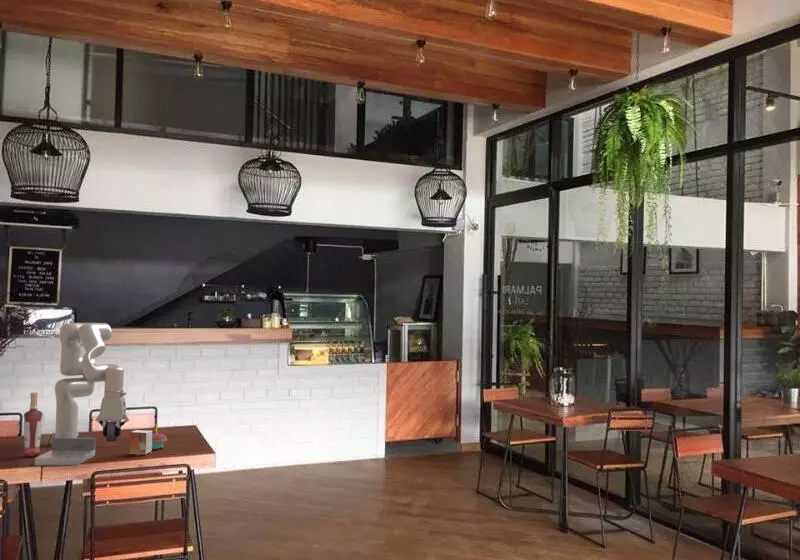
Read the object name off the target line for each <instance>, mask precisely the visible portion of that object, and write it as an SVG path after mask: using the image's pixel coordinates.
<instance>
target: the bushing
mask: <svg viewBox="0 0 800 560" xmlns="http://www.w3.org/2000/svg"><path fill="white" fill-rule="evenodd" d="M116 428H117V424H116V421H108V422H107V429H106V437H105V441H106V442H116V441H117V440H118V437H115V435H116Z"/></svg>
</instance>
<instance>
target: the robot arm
mask: <svg viewBox="0 0 800 560" xmlns="http://www.w3.org/2000/svg"><path fill="white" fill-rule="evenodd" d="M112 335H113V331H112V328H111V325H109V324H108V323H106V322H69V323H65V324H63V325H61V327H60V329H59V340H60V341H59V342H60V343H61V344H60V345H61V351H60V352H61V353H60V364H59V367H60V369H59V370H60V371H59V372H60V373H61V375H62V376H65V378H61V379H59V380H58V381H57V382H55V385H54V394H55V400H56V403H55V404H56V405H55V406H56V407H55V408H56V409H55V412H56V413H55V436H54V438H78V436H79V435H80V434H79V432H78V425H79V424H78V421H79V420H78V418H79V406H78V404H77V402H76V401H75V400H74V399H75V398H84V397H89V396H92V394H93V393H94V391H95V383H100V382H101V383H102V382H104V389H103V391H104V393H103V394H104V395H103V396H104V397H102V399H101V404H100V409H99V414H98V415H97V416H96V418H95V419H94V420H95V421H96V422H97V423H99V424H98V425H100V426H101V427H102V435H103V437H104V438H106V429H107V422H108V421H116V424H117V428H116V435H115V437H117V438H119V437H120V436H121V432H122V426H124V425H125V424H126V423H128V422H130V418H129V417H128V415H127V408H126V407H127V406H126V405H127V404H126V399H125V396H126V395H127V392H125V391H124V378H125V377H124V374H125V371H124V367H122V366H119V365H117V364H113V363H110V364H109V363H108V364H104V363H103V364H96V360H95V359H96V358H98V357H100V356H103V354H104V353H105V351H106V350H107V346H106V344H105V341H109V340H111V338H112ZM79 341H81V343H82V346H81V344H80V342H79ZM82 347H83V348H84V350H85V353H84V355H82ZM73 376H82V377H73ZM67 377H68V378H67ZM69 377H70V378H69ZM51 446H52V442H51Z"/></svg>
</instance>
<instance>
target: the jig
mask: <svg viewBox="0 0 800 560" xmlns="http://www.w3.org/2000/svg"><path fill="white" fill-rule="evenodd" d="M51 439H52V440H51V443H52V445H51V450H49V451H47V452H45V453H43V454H39V455H38V456H36V457H34V466H81V465H82V464H83V462H84V461H85V462H87V461H88V460H87V459H89V458H90V459H92V458H94V457H95V456H96V442H97V441H96V437H77V438H55V437H53V438H51ZM93 456H94V457H93ZM91 457H92V458H91ZM90 459H89V460H90ZM86 460H87V461H86ZM85 462H84V463H85ZM81 463H82V464H81Z"/></svg>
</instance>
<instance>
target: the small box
mask: <svg viewBox="0 0 800 560" xmlns="http://www.w3.org/2000/svg"><path fill="white" fill-rule="evenodd" d="M152 435H153V430H140V429H136V430H132V431H130V434H129V450H128V451H129V453H128V454H147V453H149V452H151V451H152V450H153V449H152ZM151 453H152V452H151Z"/></svg>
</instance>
